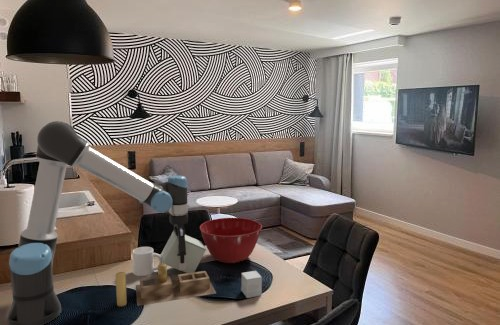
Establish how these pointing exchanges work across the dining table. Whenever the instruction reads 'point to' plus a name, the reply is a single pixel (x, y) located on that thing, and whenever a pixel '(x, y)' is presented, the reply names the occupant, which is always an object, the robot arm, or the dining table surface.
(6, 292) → the dining table surface
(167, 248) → the tray
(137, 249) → the mug
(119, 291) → the pin
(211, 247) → the mixing bowl
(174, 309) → the dining table surface
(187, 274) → the brown wooden compartment tray
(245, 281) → the skincare box
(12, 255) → the robot arm
